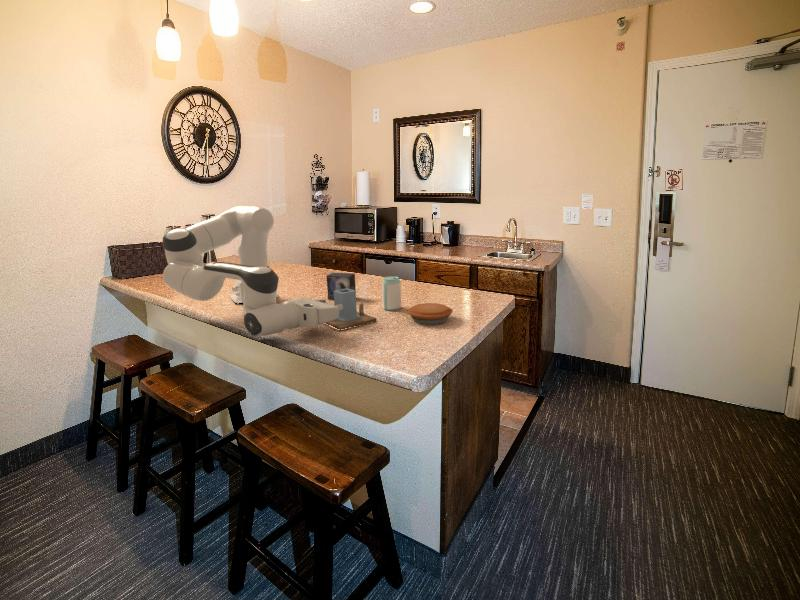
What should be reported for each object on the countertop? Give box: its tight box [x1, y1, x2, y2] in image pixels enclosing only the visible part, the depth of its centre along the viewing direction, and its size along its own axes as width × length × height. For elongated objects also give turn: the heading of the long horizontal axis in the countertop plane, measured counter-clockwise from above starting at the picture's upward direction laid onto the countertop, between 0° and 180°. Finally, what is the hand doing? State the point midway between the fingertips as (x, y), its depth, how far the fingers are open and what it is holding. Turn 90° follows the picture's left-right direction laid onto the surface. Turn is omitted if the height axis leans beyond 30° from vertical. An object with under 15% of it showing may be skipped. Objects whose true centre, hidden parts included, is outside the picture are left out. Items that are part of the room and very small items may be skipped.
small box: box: [326, 272, 357, 300], centre depth 188 cm, size 11×6×10 cm, turn 73°
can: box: [381, 275, 402, 311], centre depth 171 cm, size 7×7×12 cm
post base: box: [326, 302, 378, 330], centre depth 156 cm, size 15×15×6 cm
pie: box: [407, 302, 453, 326], centre depth 156 cm, size 16×16×5 cm
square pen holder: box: [333, 288, 361, 323], centre depth 155 cm, size 7×7×10 cm
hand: (332, 304), depth 151 cm, fingers open, 8 cm apart
